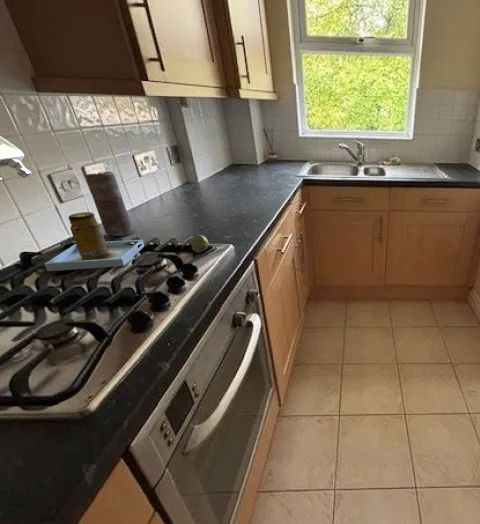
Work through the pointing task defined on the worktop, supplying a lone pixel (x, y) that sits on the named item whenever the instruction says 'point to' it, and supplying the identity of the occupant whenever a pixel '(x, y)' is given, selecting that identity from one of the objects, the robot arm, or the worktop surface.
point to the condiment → (89, 237)
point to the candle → (109, 203)
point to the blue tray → (71, 254)
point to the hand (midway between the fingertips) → (14, 178)
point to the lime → (199, 243)
